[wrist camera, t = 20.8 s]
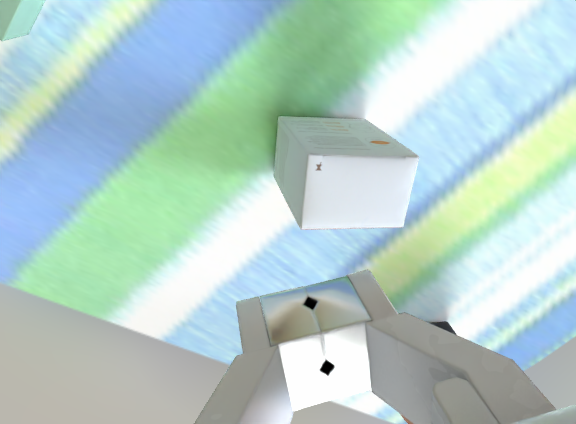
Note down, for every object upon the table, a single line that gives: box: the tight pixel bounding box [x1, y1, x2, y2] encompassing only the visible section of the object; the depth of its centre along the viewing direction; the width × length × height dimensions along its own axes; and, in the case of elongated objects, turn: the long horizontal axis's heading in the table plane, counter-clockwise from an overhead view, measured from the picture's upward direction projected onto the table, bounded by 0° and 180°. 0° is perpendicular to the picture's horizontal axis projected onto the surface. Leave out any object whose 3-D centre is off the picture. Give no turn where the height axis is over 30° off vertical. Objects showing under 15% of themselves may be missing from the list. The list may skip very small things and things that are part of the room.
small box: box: [274, 116, 419, 230], centre depth 35 cm, size 8×6×10 cm
